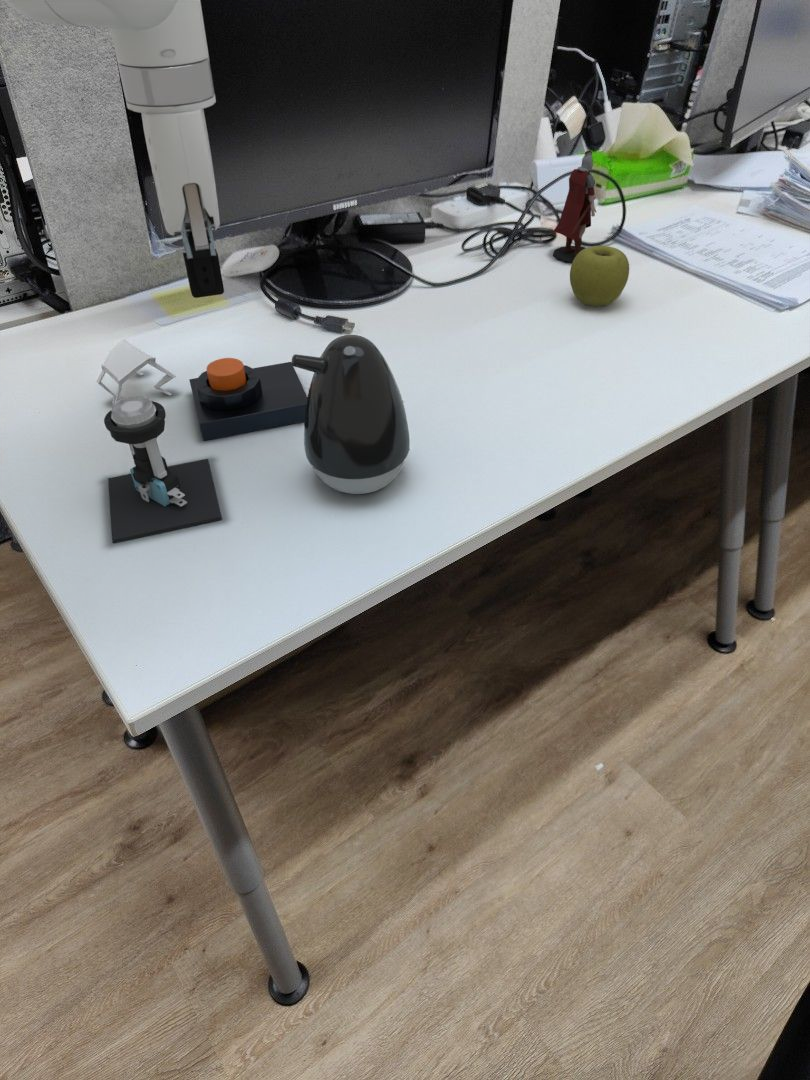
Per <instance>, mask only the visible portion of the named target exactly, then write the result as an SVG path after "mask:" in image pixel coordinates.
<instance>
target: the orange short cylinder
mask: <svg viewBox="0 0 810 1080" xmlns="http://www.w3.org/2000/svg"><path fill="white" fill-rule="evenodd" d="M244 365H245V364H244V363H243V361H241V360H240V359H238V358H234V357H224V358H223V357H222V358H219V359H215V360H213V361H211V362H209V364H208V365H207V366H206V370H205V371H207V375H208V379H209V384H210V387H211V388H212V389H214V390H221V391H228V390H233V389H237V388H239V387H241V386H243V385H245V384H246V376H245V370H244Z"/></svg>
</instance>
